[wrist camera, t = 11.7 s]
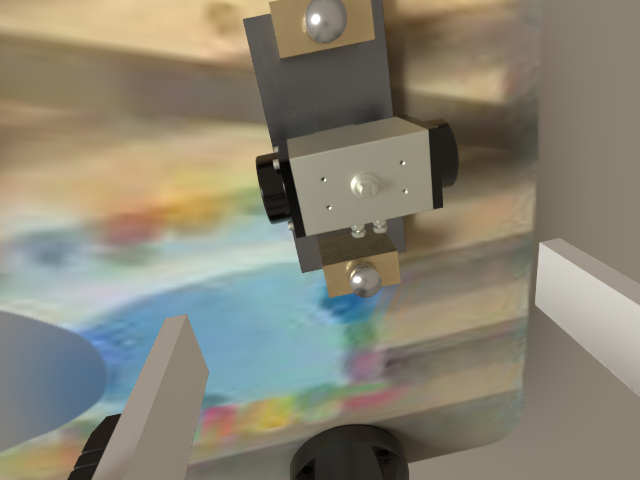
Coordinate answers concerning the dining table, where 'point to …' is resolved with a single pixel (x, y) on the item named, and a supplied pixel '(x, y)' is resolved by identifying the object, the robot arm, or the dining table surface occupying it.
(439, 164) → the pneumatic valve
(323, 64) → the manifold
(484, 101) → the dining table surface
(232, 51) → the dining table surface
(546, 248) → the robot arm
